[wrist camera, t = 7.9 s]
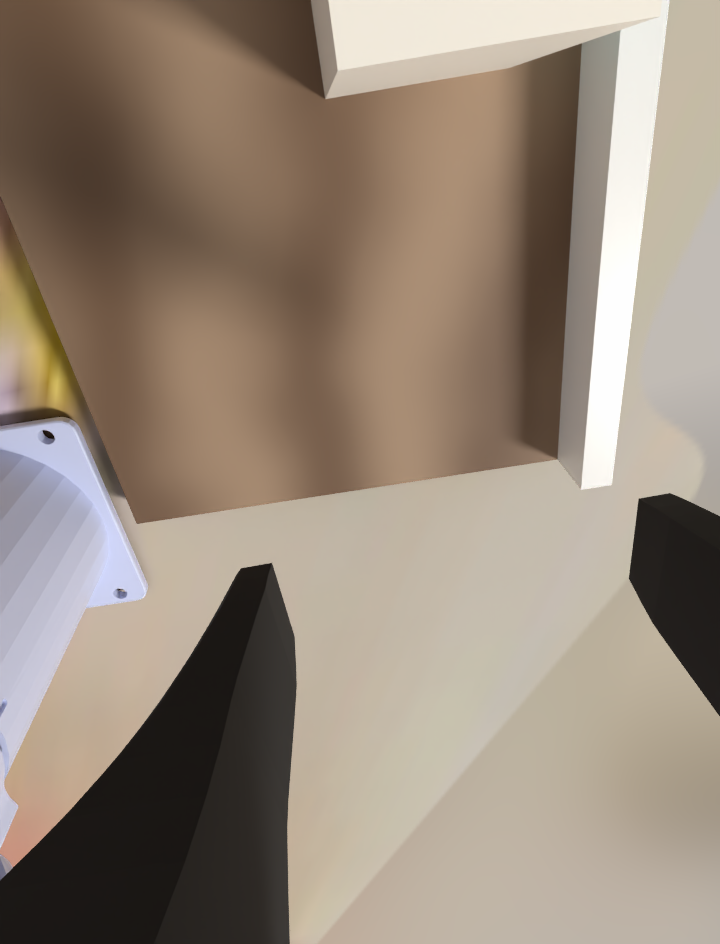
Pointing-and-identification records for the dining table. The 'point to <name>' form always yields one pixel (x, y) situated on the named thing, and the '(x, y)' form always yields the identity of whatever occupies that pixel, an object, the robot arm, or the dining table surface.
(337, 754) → the dining table surface
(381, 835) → the dining table surface
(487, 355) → the brown tray
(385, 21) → the carton
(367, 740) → the dining table surface
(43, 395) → the dining table surface
